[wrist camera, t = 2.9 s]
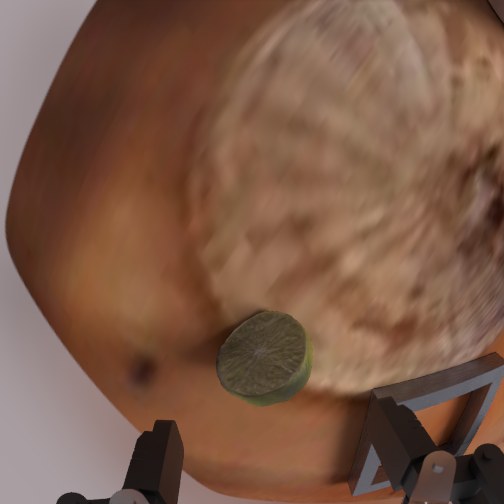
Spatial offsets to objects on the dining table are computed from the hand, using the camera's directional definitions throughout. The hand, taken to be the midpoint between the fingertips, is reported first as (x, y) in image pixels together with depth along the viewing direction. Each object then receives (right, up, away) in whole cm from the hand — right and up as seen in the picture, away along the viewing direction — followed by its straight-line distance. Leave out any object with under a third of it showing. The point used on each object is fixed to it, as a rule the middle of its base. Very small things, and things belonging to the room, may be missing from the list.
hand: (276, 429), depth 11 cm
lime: (0, +2, +7) cm, 7 cm away
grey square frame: (+14, -8, +10) cm, 19 cm away
